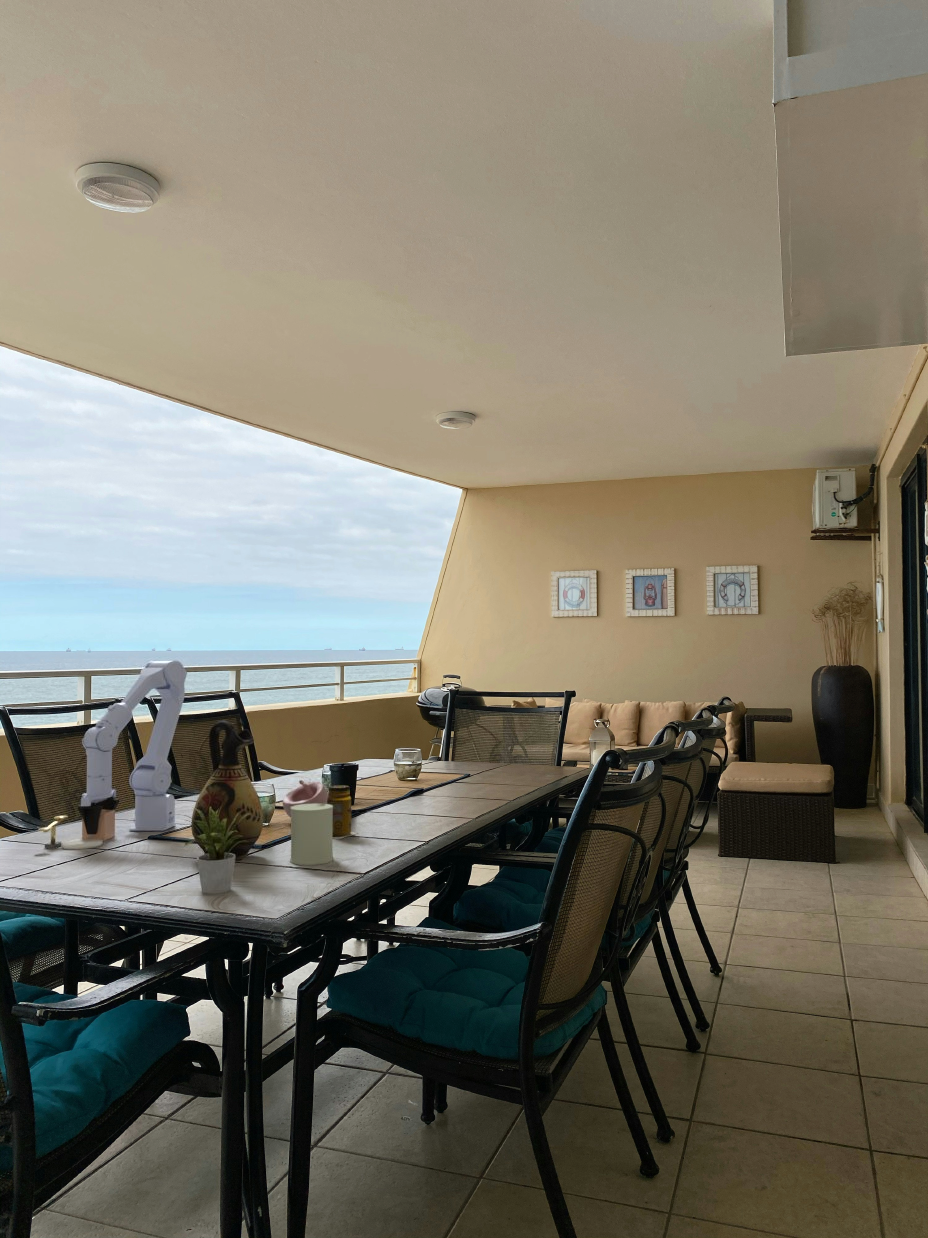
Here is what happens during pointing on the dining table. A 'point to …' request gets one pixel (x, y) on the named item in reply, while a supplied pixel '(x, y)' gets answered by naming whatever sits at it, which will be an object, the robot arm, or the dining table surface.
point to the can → (311, 834)
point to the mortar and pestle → (305, 795)
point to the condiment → (340, 811)
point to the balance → (53, 832)
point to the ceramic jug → (230, 792)
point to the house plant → (215, 853)
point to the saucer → (82, 843)
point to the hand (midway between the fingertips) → (98, 831)
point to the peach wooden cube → (102, 826)
